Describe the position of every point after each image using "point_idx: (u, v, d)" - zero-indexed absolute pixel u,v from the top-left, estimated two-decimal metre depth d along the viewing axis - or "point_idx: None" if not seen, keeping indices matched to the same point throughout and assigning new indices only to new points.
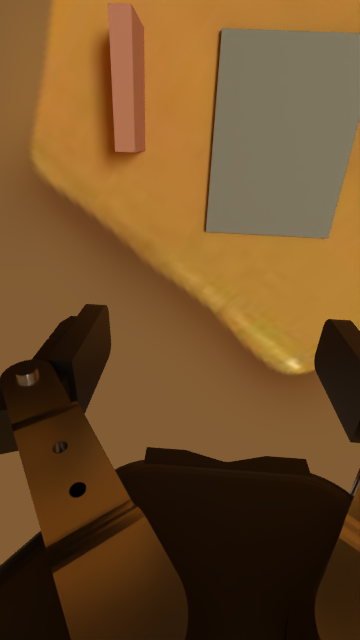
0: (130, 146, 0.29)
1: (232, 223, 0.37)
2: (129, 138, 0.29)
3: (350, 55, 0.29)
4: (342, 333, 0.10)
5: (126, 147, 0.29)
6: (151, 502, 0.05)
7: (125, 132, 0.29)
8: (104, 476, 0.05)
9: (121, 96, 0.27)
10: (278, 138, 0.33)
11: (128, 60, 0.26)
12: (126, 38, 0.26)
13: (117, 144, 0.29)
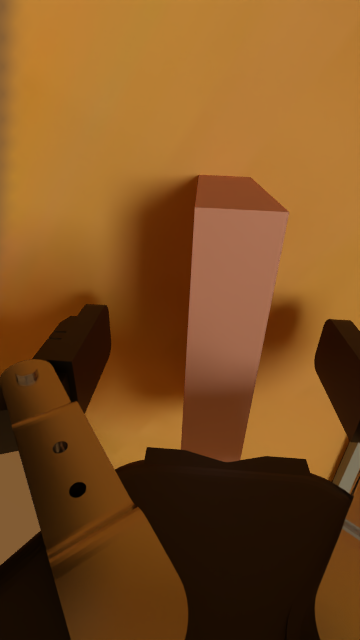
0: None
1: None
2: None
3: None
4: (342, 333, 0.10)
5: None
6: (151, 502, 0.05)
7: None
8: (104, 476, 0.05)
9: (210, 424, 0.09)
10: None
11: (246, 356, 0.08)
12: (249, 305, 0.07)
13: None
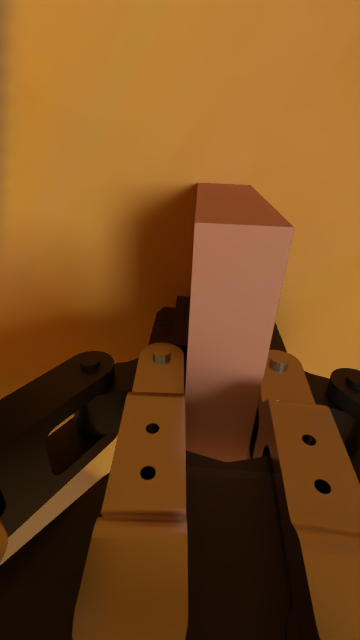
0: None
1: None
2: None
3: None
4: None
5: None
6: None
7: None
8: (173, 474, 0.05)
9: (211, 444, 0.09)
10: None
11: (249, 375, 0.08)
12: (252, 323, 0.07)
13: None
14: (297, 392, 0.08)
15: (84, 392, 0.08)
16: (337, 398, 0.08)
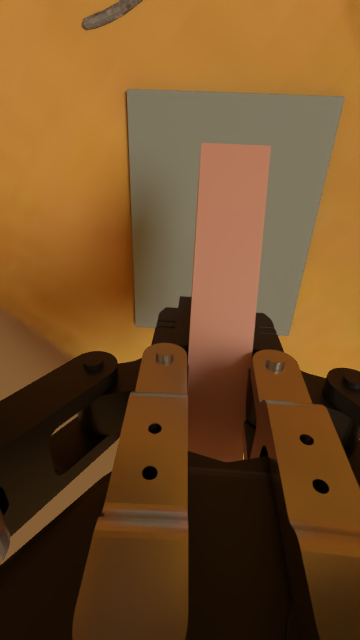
0: None
1: None
2: None
3: (304, 123, 0.21)
4: None
5: None
6: None
7: (216, 449, 0.10)
8: (176, 475, 0.05)
9: (215, 363, 0.09)
10: None
11: (246, 277, 0.09)
12: (246, 226, 0.09)
13: None
14: (293, 392, 0.08)
15: (87, 392, 0.08)
16: (334, 398, 0.08)
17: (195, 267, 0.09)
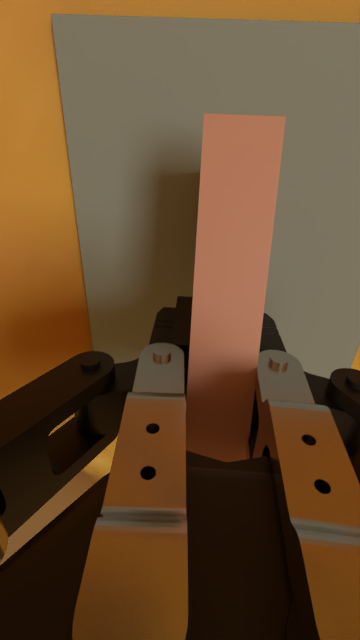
0: None
1: None
2: None
3: None
4: None
5: None
6: None
7: (218, 453, 0.09)
8: (173, 474, 0.05)
9: (218, 364, 0.09)
10: None
11: (254, 271, 0.08)
12: (255, 212, 0.08)
13: None
14: (297, 392, 0.08)
15: (84, 392, 0.08)
16: (337, 398, 0.08)
17: (196, 260, 0.08)
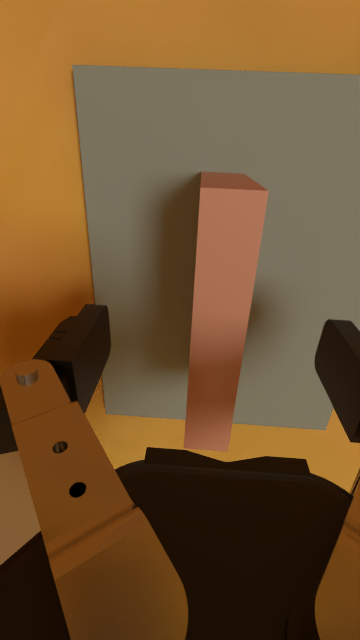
0: (219, 443, 0.13)
1: (151, 404, 0.20)
2: (219, 431, 0.13)
3: None
4: (342, 333, 0.10)
5: (210, 443, 0.13)
6: (151, 502, 0.05)
7: (211, 423, 0.13)
8: (104, 477, 0.05)
9: (211, 368, 0.11)
10: None
11: (239, 306, 0.10)
12: (241, 264, 0.10)
13: (190, 438, 0.13)
14: None
15: None
16: None
17: (195, 297, 0.10)
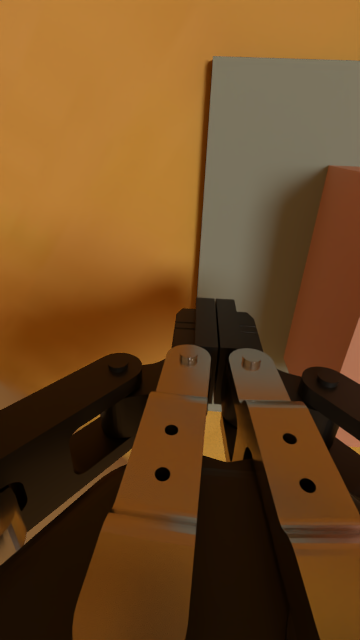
0: (353, 438, 0.13)
1: None
2: None
3: None
4: (218, 309, 0.11)
5: (343, 439, 0.13)
6: None
7: None
8: (188, 478, 0.05)
9: None
10: None
11: None
12: None
13: None
14: (266, 390, 0.08)
15: (110, 395, 0.07)
16: (310, 398, 0.08)
17: None
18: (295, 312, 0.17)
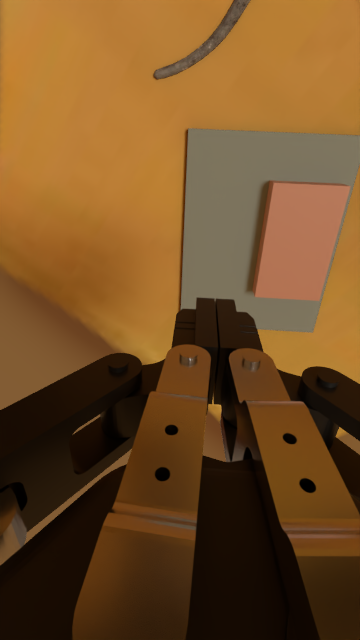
0: None
1: None
2: None
3: (333, 156, 0.26)
4: (218, 309, 0.11)
5: None
6: None
7: None
8: (188, 479, 0.05)
9: None
10: (255, 236, 0.30)
11: None
12: None
13: (319, 293, 0.30)
14: (266, 390, 0.08)
15: (110, 394, 0.07)
16: (310, 398, 0.08)
17: (338, 227, 0.27)
18: (262, 266, 0.29)
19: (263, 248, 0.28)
